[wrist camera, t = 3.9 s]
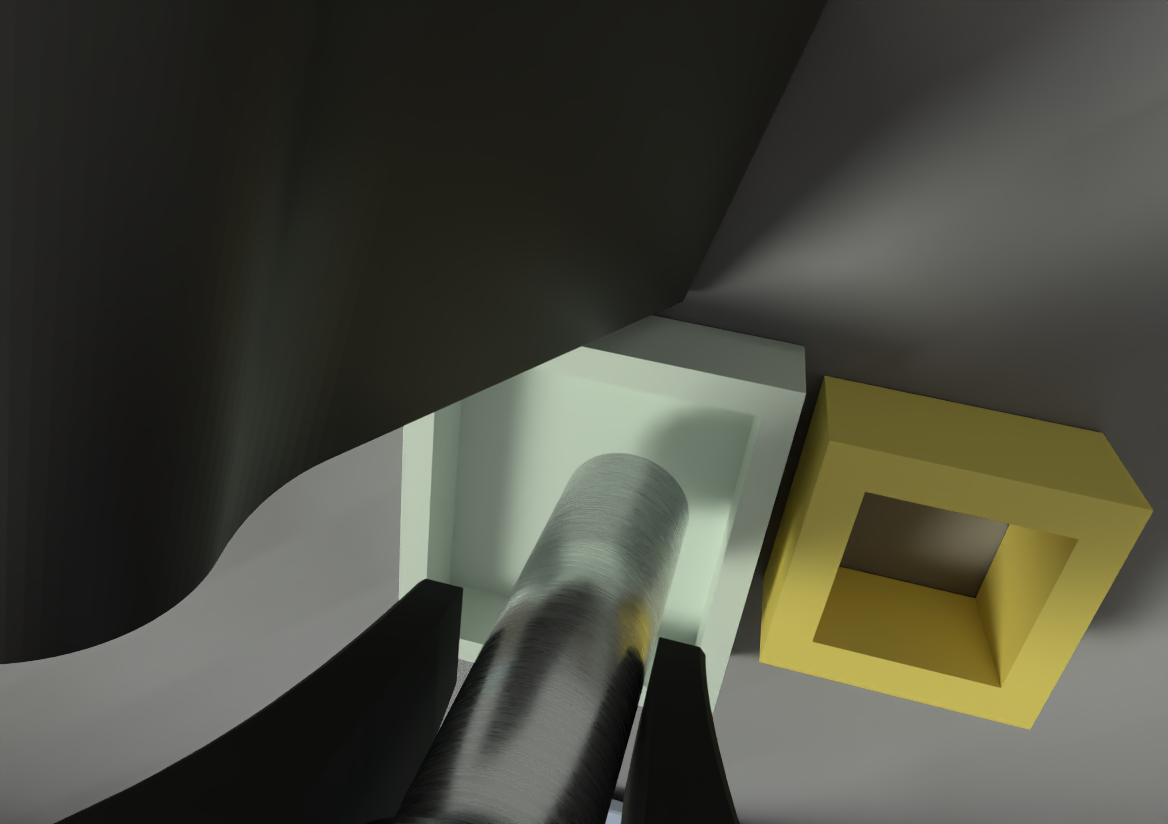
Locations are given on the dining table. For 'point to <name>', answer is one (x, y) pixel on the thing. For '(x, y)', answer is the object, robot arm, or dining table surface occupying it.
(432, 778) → the stop pin
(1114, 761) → the dining table surface
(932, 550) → the dining table surface
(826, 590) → the pin socket
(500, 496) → the tray
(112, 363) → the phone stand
